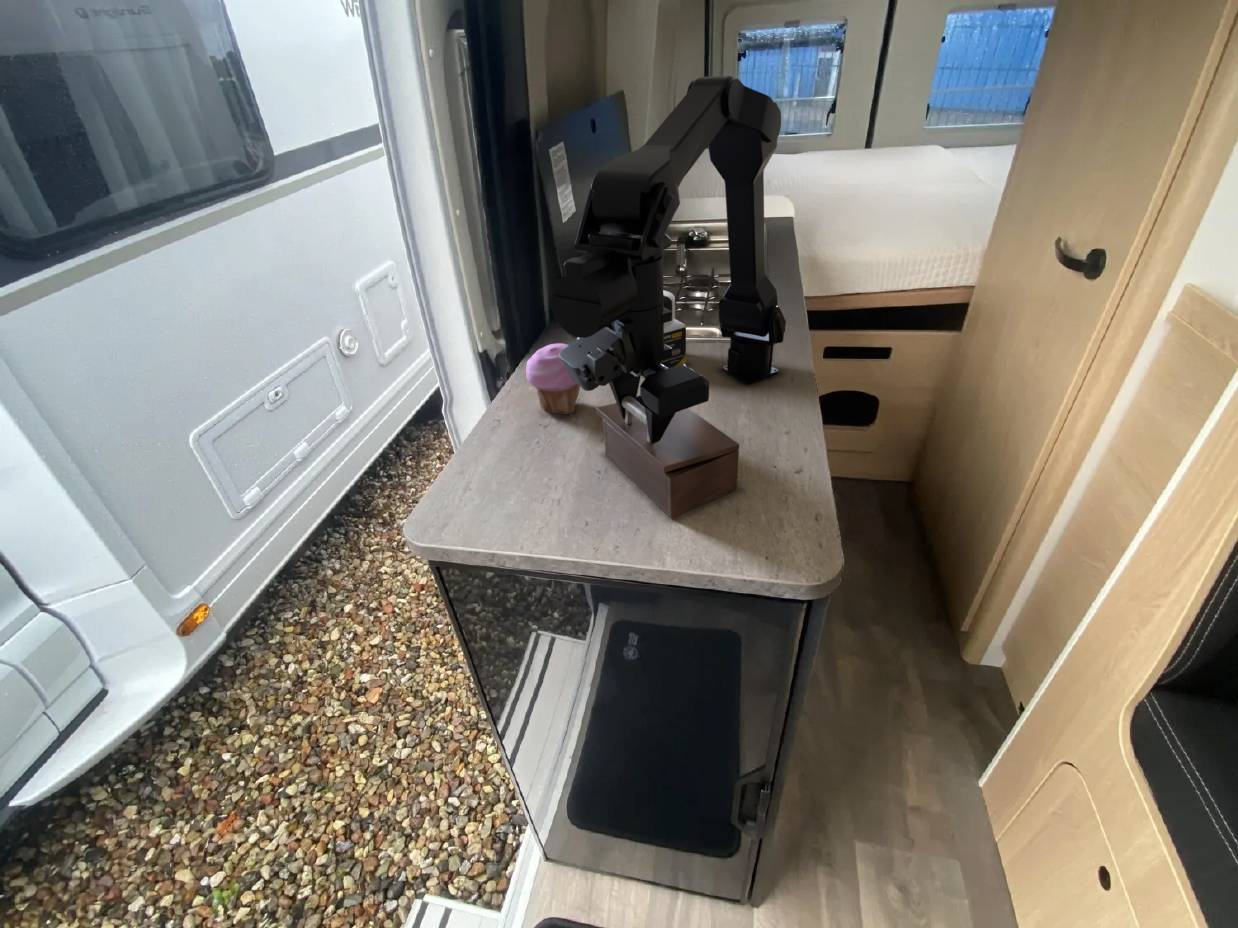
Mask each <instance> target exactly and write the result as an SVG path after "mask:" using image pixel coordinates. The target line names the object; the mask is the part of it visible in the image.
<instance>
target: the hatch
mask: <svg viewBox="0 0 1238 928" xmlns="http://www.w3.org/2000/svg"><path fill="white" fill-rule="evenodd" d="M622 406H623V407H624V408H625V420H624V419H623V418H622V416H621V413H620V410H619V408H618V405H617V403H616V402H615V403H611V404H607V405H603V406H599V407H596V414H597V415H598V416H599V417H600V418H601V419H602V420H603V419H604V420H605V421H606V422H607V423H608V424H610V425H611V426H612V427H613V428H614V429H615V430H616V431H617V432H619V433H620V434H621V435H622V436H623V437H624V438H625V439H627V440H628V441H629V442H630V443H631V444H632V445H633V446H635V447H636V448H637V449H638V450H639V451H640V452H641V453H643V454H644V455H645V456H646V457H647V458H648V459H649V460H650V461H652V462H653V463H654V464H655V465H656V466H657V467H658V468H660V469H661V470H662V471H663V472H664V473H665V472H668V471H672V470H675V469H678V468H681V467H685V466H688V465H691V464H694V463H698V462H701V461H704V460H707V459H711V458H714V457H717V456H721V455H724V454H727V453H730V452H734V451H737V450H739V451H740V443H738V442H737V441H735V440H734V439H733V438H732V437H730V436H728V435H727V434H725V433H724V432H723V431H721V430H720V429H718V428H717V427H715V425H713V424H712V423H710V422H709V421H708V420H706V419H704V418H703V417H702V416H701V415H698V414H697V413H696V412H694V411H693V410H692V409H690V408H687V409H684V410H681V411H678V412H676V413H675V415H674V417H673V418H672V420H671V422H670V424H669V425H668V427H667V429H666V431H665V433H664V434H663V436H662V438H661V440H660V441H659V442H656V443H651V442H650V438H649V433H648V427H647V420H646V413H645V408H644V407H643V406H641V405H640V404H639V403H637V402H636V401H635V400H634V399H633V397H631V396H626V397H625V398H624V399H623V400H622Z"/></svg>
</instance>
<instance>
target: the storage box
mask: <svg viewBox="0 0 1238 928" xmlns="http://www.w3.org/2000/svg"><path fill="white" fill-rule="evenodd" d="M602 429H603V441H604V451H605V457H606V458H607V459H608V460H609V461H610V462H612V464H614V466H616V467H617V469H619V471H621V472H622V473H623V474H624V475H625V476H626V477H627V478H628V479H629V480H630V481H631V482H632V483H633V484H634V485H635V486H637V488H638V489H640V490H641V492H642V493H644V494H645V495H646V496H647V498H649V499H650V500H651V501H652V502H653V503H654V504H655V505H656V506H657V507H658V508H659V509H660V510H662V512H663V513H665V515H666V516H667V517H668V518H670V519H674V518H677V517H679V516H681V515H683V514H685V513H687V512H690V511H692V510H695V509H697V508H699V507H701V506H703V505H705V504H708V503H710V502H712V501H714V500H717V499H719V498H722V497H724V496H726V495H728V494H730V493H732V492H736V491H737V489H738V473H739V457H740V449H739V450H737V451H734V452H730V453H727V454H724V455H721V456H717V457H714V458H711V459H707V460H704V461H701V462H698V463H694V464H691V465H688V466H685V467H681V468H678V469H675V470H672V471H668V472H665V473H664V472H663V471H662V470H661V469H660V468H658V467H657V466H656V465H655V464H654V463H653V462H652V461H650V460H649V459H648V458H647V457H646V456H645V455H644V454H643V453H641V452H640V451H639V450H638V449H637V448H636V447H635V446H633V445H632V444H631V443H630V442H629V441H628V440H627V439H625V438H624V437H623V436H622V435H621V434H620V433H619V432H617V431H616V430H615V429H614V428H613V427H612V426H611V425H610V424H608V423H607V422H606V421H605V420H604V419H603V418H602Z"/></svg>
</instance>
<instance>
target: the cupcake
mask: <svg viewBox="0 0 1238 928" xmlns="http://www.w3.org/2000/svg"><path fill="white" fill-rule="evenodd" d="M569 345H570V344H567V343H560V342H559V343H551V344H548V345H545V346H544V347H541V348H539V349H538V350H536V351H535V352H534V354H532V355H531V357H530V358H529V359H528V360H527V362H526V365H525V366H526V367H525V376H526V379H527V381H528V382H529V384H531V386H532V387H534V388H535V389H536V392H537V397H538V401H539V402H538V403H539V405H540V408H541V410H543V412H545V413H549V414H563V415H572V414H573V413H574V412H575V407H576V403H577V400H578V397H579V394H580V389H581V386H580V385H579V384H578V383H576V382H575V381H573V380H572V379H571V377H570V375H569V373H568V372H567V370H566V368H565V366H564V364H563V362H562V360H561V358H560V356H559V355H560V352H561V351H562V350H563V349H565V348H566V347H568V346H569Z"/></svg>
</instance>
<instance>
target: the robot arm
mask: <svg viewBox="0 0 1238 928" xmlns="http://www.w3.org/2000/svg"><path fill="white" fill-rule="evenodd" d="M781 126H782V111H781V109H780V107H779V106H778V103H777V101H776V102H775V101H774V100H773V98H772V97H771V96H770V95H767V94H765V93H763V92H760V91H758V90H756V89H753V88H751V87H748V86H745V85H744V84H743V82H742V81H741V80H740V79H739V78H734V76H732V75H720V76H719V75H718V76H717V75H715V76H714V75H713V76H712V75H711V76H698V77H697V78H696V79H693V80H691V81H690V83H689V85H688V87H687V90H686V94H685V95H684V96H683V98H681V100H680V101H679V102H678V104H676V106H675V107H674V109H672V111H671V112H670V113H669V114H668V115H667V117H666V118H665V119H664V120H663V122H662V123H660V125H659V126H658V127H657V128H656V130H655V131H654V132H653V134H652V135H651V136H650V137H649V139H647V141H645V143H644V144H643V145H642V146H640V147H639V148H638V149H636V150H633V151H630V152H627V153H625V154H622V155H620V156H617V157H615V158H614V159H613V160H612V161H610V162H609V163H608V164H606V165H605V166H603V167H602V168H601V169H600V170H599V171H598V172H597V173H596V174H595V177H594V178H593V179H592V182H591V185H590V189H589V192H588V194H587V199H586V202H585V206H584V209H583V212H582V217H581V219H580V223H579V228H578V231H577V235H576V238H575V241H574V245H573V250H574V251H575V252H579V253H585V254H582V255H580V256H577V257H571V258H569V259H567V260H565V261H564V263H563V268H564V275H563V276H562V277H560V278H558V279H557V280H556V282H554V285H553V287H552V289H551V295H550V297H549V305H550V309H551V312H552V314H553V317H554V319H555V321H556V323H558V325H559V326H560V327H561V328H562V330H563V331H565V332H566V333H568V334H569V335H571V336H573V337H575V338H576V340H575V341H573V342H572V343H570V344H568V345H569V346H568V347H566V348H565V349H563V350H562V351H561V352H560V355H559V356H560V358H561V360H562V362H563V364H564V366H565V368H566V370H567V372H568V373H569V375H570V377H571V379H572V380H573V381H575V382H576V383H578V384H579V385H580V388H581V389H582V390H584V391H586V392H587V391H588V392H589V391H590V392H591V391H594V390H596V389H597V388H598V387H600V386H601V387H605V386H607V385H609V387H610V389H611V392H612V395H613V397H614V400H615V403H617V405H618V408H619V410H620V413H621V416H622V418H623V419H624V420H625V408H624V407H623V406H622V400H623V399H624V398H625V397H626V396H631V397H633V399H634V400H635V401H636V402H637V403H639V404H640V405H641V406H643V407H644V408H645V413H646V420H647V427H648V433H649V438H650V442H651V443H656V442H659V441H660V440H661V438H662V436H663V434H664V433H665V431H666V429H667V427H668V425H669V424H670V422H671V420H672V418H673V417H674V415H675V413H676V412H678V411H681V410H684V409H687V408H689V409H690V408H692V407H695V406H699V405H700V404H701V405H702V404H704V403H706V402H709V399H710V380H708V379H707V378H706V377H705V376H703V375H702V374H700V373H699V372H697V371H696V370H694V369H692V368H691V367H690V366H687V365H686V364H685V365H684V364H681V365H678V366H675V367H672V368H667V367H665V366H664V365H662V364H661V363H662V360H664V359H667V358H670V357H672V348H671V347H669V346H667V345H666V344H664V323H666V322H669V321H672V311H670V310H668V309H666V308H664V295H663V290H664V251H665V250H667V249H668V248H670V247H671V246H672V245H673V241H672V240H673V239H671V238H670V237H669V235H667V234H666V233H667V230H668V228H669V226H670V224H671V222H672V220H673V218H674V217H675V216H674V215H675V214H676V212H677V210H678V208H679V207H680V204H681V199H680V198H681V197H680V191H679V190H680V189H679V187H680V186H681V183H682V182H683V179H684V178H685V177H686V176H687V175H688V173H689V172H690V171H691V169H692V168H693V167H694V165H695V164H696V163H697V162H698V160H699V159H700V157H701V156H702V155H703V153H704V152H705V151H706V149H708V156H709V160H710V163H711V164H712V166H713V167H714V168H715V170H716V171H717V173H718V174H719V175H720V176H721V178H722V180H723V181H724V193H725V210H726V211H725V212H726V213H725V214H726V227H727V245H728V261H729V275H730V276H729V277H730V281H729V282H730V283H729V285H728V287H727V288H726V290H725V291H724V293H723V295H722V296H721V298H720V299H719V301H718V303H717V304H718V322H719V327H720V333H721V338H730V339H729V342H730V343H729V348H728V349H727V365H724V366H722V371H724V372H726V373H727V374H729V375H731V376H732V377H734V378H736V379H737V380H739V381H740V382H742V383H744V384H746V385H750V384H753V383H756V382H758V381H761V380H764V379H766V378H770V377H772V376H775V375H778V374H779V369H778V368H775V367H774V366H773V355H774V346H775V345H776V344H781V343H783V342H784V338H785V337H784V336H785V332H786V327H787V326H786V325H787V320H786V318H785V316H784V314H783V312H782V310H781V308H780V306H779V305H778V303H779V302H778V291H777V289H776V287H775V286H774V284H773V283H772V282H771V280H770V279H769V278H768V276H767V275H766V258H765V257H766V255H765V254H766V249H765V182H764V181H765V180H764V179H765V177H764V175H765V169H766V167H767V165H768V163H769V162H770V160H771V158H772V157H773V155H774V153H775V151H776V149H777V146H778V138H779V137H780V132H781ZM601 231H603V232H607V233H615V234H623V235H631V236H623V235H614V234H606V233H605V234H604V233H600V232H601ZM641 377H643V378H644V380H643V381H642V382H641V384H640V381H641ZM639 390H640V395H638V392H639Z"/></svg>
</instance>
